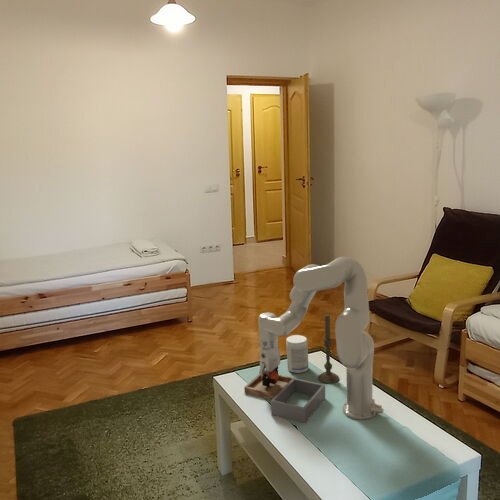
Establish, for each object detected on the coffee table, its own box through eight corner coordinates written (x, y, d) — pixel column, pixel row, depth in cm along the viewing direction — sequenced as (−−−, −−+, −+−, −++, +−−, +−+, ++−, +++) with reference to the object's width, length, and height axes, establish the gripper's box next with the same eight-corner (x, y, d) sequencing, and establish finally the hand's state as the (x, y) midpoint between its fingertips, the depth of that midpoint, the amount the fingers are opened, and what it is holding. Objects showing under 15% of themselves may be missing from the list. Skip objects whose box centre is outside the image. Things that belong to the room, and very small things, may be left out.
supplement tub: (312, 368, 220) (311, 338, 217) (299, 375, 214) (298, 345, 210) (296, 362, 227) (295, 333, 224) (283, 369, 221) (281, 339, 217)
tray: (295, 383, 207) (295, 378, 206) (278, 401, 194) (278, 395, 193) (263, 376, 215) (262, 371, 214) (244, 392, 202) (244, 387, 201)
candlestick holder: (326, 371, 216) (325, 308, 210) (343, 378, 209) (342, 313, 203) (313, 379, 210) (311, 314, 204) (330, 386, 203) (329, 319, 197)
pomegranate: (277, 393, 200) (284, 371, 206) (270, 385, 196) (277, 363, 201) (262, 391, 204) (269, 370, 210) (255, 383, 200) (262, 361, 205)
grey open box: (325, 398, 194) (325, 384, 193) (305, 424, 177) (304, 409, 176) (293, 391, 201) (293, 377, 200) (271, 415, 184) (270, 400, 183)
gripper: (266, 352, 191) (268, 393, 194) (285, 336, 205) (287, 374, 209) (250, 349, 194) (252, 389, 198) (270, 333, 209) (272, 371, 213)
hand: (270, 381), depth 203 cm, fingers closed on pomegranate, 7 cm apart
